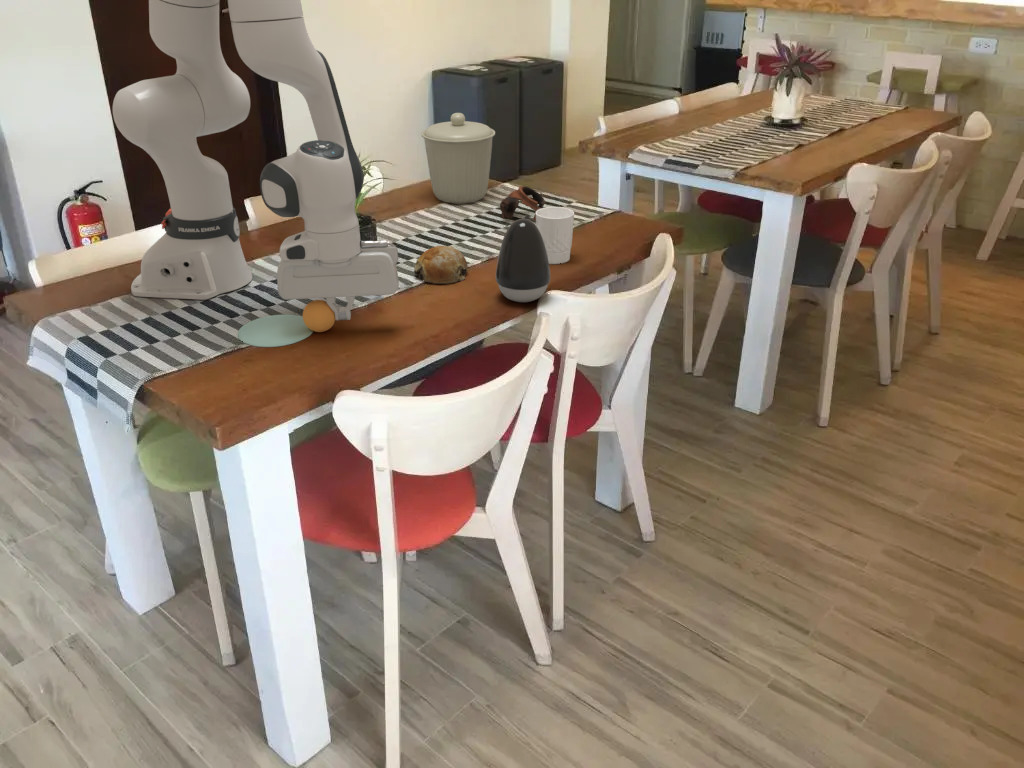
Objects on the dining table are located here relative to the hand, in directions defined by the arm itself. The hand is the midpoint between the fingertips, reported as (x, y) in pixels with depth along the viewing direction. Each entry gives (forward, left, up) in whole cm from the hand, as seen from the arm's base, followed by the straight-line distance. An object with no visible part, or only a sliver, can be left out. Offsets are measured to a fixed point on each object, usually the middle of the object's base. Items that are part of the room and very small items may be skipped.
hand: (343, 318), depth 152 cm
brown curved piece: (+35, +60, -2) cm, 70 cm away
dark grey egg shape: (+32, +12, -2) cm, 35 cm away
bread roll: (+17, +24, -3) cm, 30 cm away
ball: (-4, 0, +1) cm, 4 cm away
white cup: (+40, +32, -2) cm, 52 cm away
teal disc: (-12, 0, -2) cm, 12 cm away
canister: (+21, +77, -2) cm, 80 cm away
